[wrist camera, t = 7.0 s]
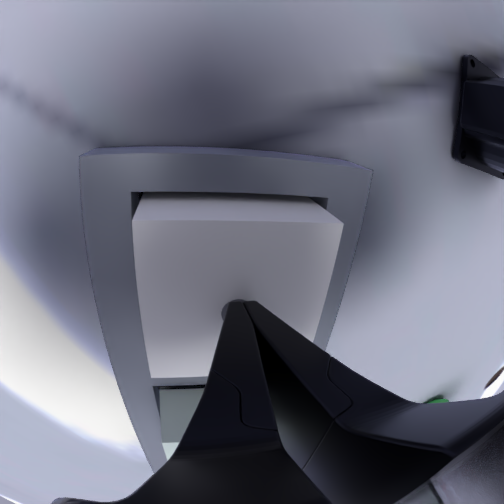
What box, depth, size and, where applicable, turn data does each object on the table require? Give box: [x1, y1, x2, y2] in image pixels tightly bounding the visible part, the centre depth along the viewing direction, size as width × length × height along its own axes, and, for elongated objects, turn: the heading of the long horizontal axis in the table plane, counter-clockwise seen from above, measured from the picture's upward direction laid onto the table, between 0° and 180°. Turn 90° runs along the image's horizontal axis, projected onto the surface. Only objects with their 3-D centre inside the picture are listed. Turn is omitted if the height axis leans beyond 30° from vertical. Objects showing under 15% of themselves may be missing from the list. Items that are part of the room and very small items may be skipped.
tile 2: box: [160, 388, 204, 461], centre depth 13 cm, size 6×6×3 cm
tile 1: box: [132, 192, 344, 378], centre depth 10 cm, size 6×6×3 cm
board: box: [79, 146, 373, 473], centre depth 15 cm, size 10×27×2 cm, turn 174°
